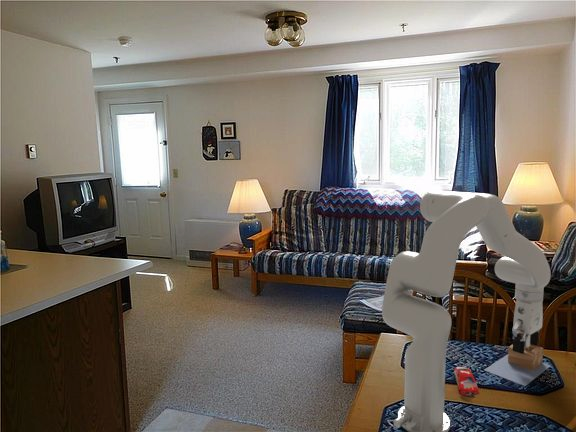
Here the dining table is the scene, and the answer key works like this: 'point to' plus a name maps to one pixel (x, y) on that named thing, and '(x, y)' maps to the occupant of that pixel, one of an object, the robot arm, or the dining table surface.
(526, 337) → the white rounded rod
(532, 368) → the light brown hollow block
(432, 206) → the robot arm
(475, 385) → the race car
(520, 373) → the grey flat plate
